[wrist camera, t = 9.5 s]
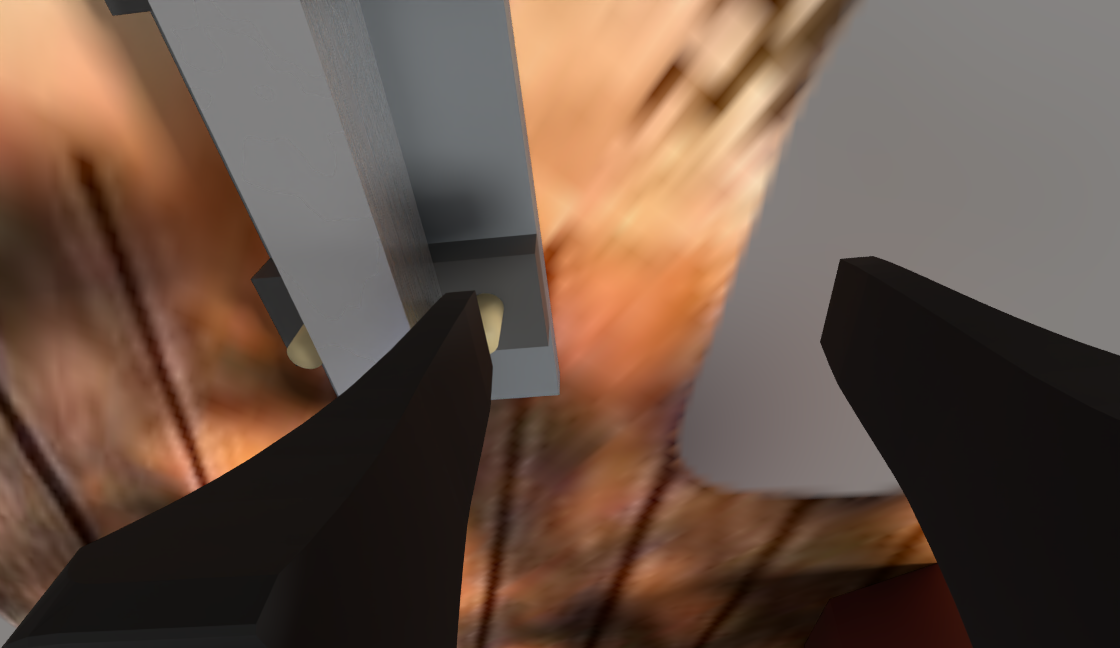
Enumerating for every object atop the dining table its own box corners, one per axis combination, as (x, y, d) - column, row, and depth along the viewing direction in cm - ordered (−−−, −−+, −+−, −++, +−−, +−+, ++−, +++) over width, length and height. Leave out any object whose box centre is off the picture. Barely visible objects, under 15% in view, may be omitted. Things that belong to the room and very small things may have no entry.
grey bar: (495, 430, 23) (486, 500, 20) (396, 437, 23) (373, 506, 20) (245, -559, 9) (92, -801, 6) (-1, -512, 9) (-259, -720, 6)
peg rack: (559, 372, 25) (558, 456, 21) (354, 388, 25) (314, 472, 21) (439, -508, 11) (365, -781, 7) (-14, -425, 11) (-333, -628, 7)
